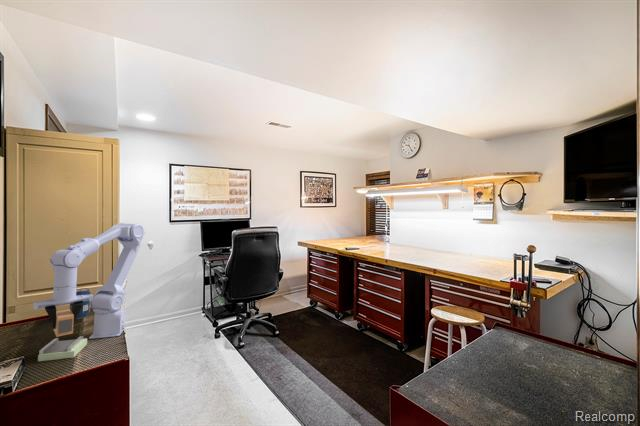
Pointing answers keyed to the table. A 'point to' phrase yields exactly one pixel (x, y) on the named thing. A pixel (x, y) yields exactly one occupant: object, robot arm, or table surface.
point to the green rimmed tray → (62, 349)
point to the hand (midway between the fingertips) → (63, 326)
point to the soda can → (86, 304)
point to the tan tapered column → (64, 323)
